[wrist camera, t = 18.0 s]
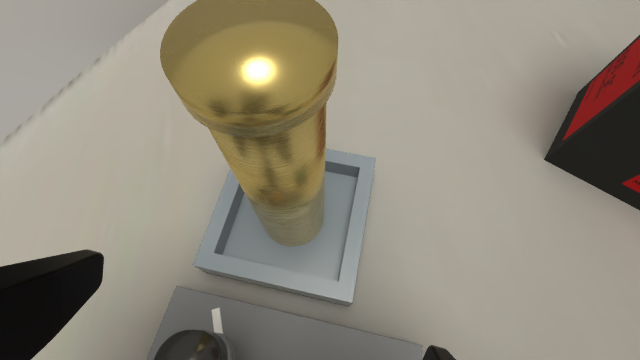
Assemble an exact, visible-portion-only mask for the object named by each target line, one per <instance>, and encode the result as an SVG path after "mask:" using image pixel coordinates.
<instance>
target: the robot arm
mask: <svg viewBox="0 0 640 360" xmlns="http://www.w3.org/2000/svg"><path fill="white" fill-rule="evenodd" d="M103 264H104V257H103V255H102V254H101V253H99V252H95V251H92V250H81V251H76V252H71V253H66V254H61V255H56V256H51V257H46V258H41V259H36V260H31V261H26V262H22V263H17V264H12V265H7V266H2V267H0V360H31V359H32V358H33V357H34V356H35V355H36V354H37V353H38V352H39V351H41V350H42V349H43V348H44V347H45V346H46V345H47V344H48V343H49V342H50V341H51V340H52V339H53V338H54V337H55V336H56V335H57V334H58V333H59V332H60V330H61V329H62V328H63V327H64V326H65V325H66V324H67V323H68V322H69V321H70V319H71V318H72V317H73V316H74V315H75V314H76V313H77V312H78V310H79V309H80V308H81V307H82V306H83V305H84V304H85V303H86V302H87V300H88V299H89V298H90V297H91V296H92V295H93V294H94V293H95V292H96V290H97V289H98V288H99V286H100V285H101V282H102V278H103ZM423 360H456V359H455V358H454V357H453V356H452V355H451V354H450V353H449V352H448V351H447V350H446V349H444V348H441V347H437V346H434V345H431V346H429V347H428V348H427V350H426V353H425V355H424V358H423Z"/></svg>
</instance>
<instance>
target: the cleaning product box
mask: <svg viewBox="0 0 640 360" xmlns="http://www.w3.org/2000/svg"><path fill="white" fill-rule="evenodd" d="M544 160H546V161H548V162H549V163H551V164H553V165H555V166H557V167H559V168H561V169H563V170H565V171H566V172H568V173H570V174H572V175H574V176H576V177H578V178H580V179H582V180H584V181H585V182H587V183H589V184H591V185H593V186H595V187H597V188H599V189H601V190H602V191H604V192H606V193H608V194H610V195H612V196H614V197H616V198H618V199H620V200H621V201H623V202H625V203H627V204H629V205H631V206H633V207H635V208H637V209H638V210H640V35H639V36H638V37H637V38H636V39H635V40H634V41H633V42H632V43H631V44H630V45H629V46H627V47H626V48H625V49H624V50H623V51H622V52H621V53H620V54H619V55H618V56H617V57H616V58H615V59H614V60H612V61H611V62H610V63H609V64H608V65H607V66H606V67H605V68H604V69H603V70H602V71H601V72H600V73H599V74H597V75H596V76H595V77H594V78H593V79H592V80H591V81H590V82H589V83H588V84H587V85H586V86H585V87H584V88H582V89H581V90H580V91H579V92H578V94H577V96H576V98H575V100H574V102H573V104H572V106H571V108H570V110H569V112H568V114H567V116H566V118H565V120H564V122H563V124H562V126H561V128H560V130H559V132H558V134H557V136H556V138H555V140H554V142H553V144H552V146H551V148H550V150H549V151H548V153H547V155H546V157H545V159H544Z"/></svg>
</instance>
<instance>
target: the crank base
mask: <svg viewBox="0 0 640 360" xmlns="http://www.w3.org/2000/svg"><path fill="white" fill-rule="evenodd" d="M183 330H209V331H212V332H218V333H221V334H224V335H225V336H227V337H228V338H229V339H230V341H231V342H232V344H233V347H234V350H235V360H421V359H422V345H418V344H414V343H409V342H405V341H401V340H397V339H393V338H389V337H385V336H381V335H376V334H372V333H368V332H364V331H360V330H356V329H352V328H347V327H343V326H339V325H335V324H331V323H327V322H323V321H319V320H314V319H310V318H306V317H302V316H298V315H294V314H290V313H286V312H281V311H277V310H273V309H269V308H265V307H261V306H257V305H253V304H248V303H244V302H240V301H236V300H232V299H228V298H224V297H220V296H215V295H211V294H207V293H203V292H199V291H195V290H191V289H186V288H182V287H178V286H176V288H175V291H174V293H173V296H172V298H171V301H170V303H169V305H168V308H167V310H166V313H165V315H164V318H163V320H162V323H161V325H160V328H159V330H158V333H157V335H156V338H155V340H154V343H153V345H152V348H151V350H150V353H149V355H148V358H147V360H154V358H155V355H156V353H157V351H158V350H159V348H160V347H161V345H162V344H163V343H164V342H165V341H166V340H167V339H168V338H169V337H171V336H172V335H174V334H175V333H177V332H180V331H183Z"/></svg>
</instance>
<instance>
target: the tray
mask: <svg viewBox="0 0 640 360" xmlns="http://www.w3.org/2000/svg"><path fill="white" fill-rule="evenodd" d="M375 161H376V158H373V157H367V156H362V155H357V154H351V153H346V152H340V151H335V150H330V149H325V201H324V222H323V226H322V228H321V230H320V232H319V233H318V235H317V236H316V237H315V238H314V239H313V240H311V241H310V242H308V243H306V244H303V245H300V246H284V245H281V244H279V243H277V242H275V241H274V240H273V239H272V238H270V236H269V235H268V234H267V232H266V231H265V229H264V227H263V225H262V223H261V222H260V220H259V218H258V216H257V214H256V213H255V211H254V209H253V207H252V205H251V204H250V202H249V200H248V198H247V196H246V195H245V193H244V191H243V189H242V188H241V186H240V184H239V182H238V180H237V179H236V177H235V175H234V173H233V171H232V170H231V168H230V171H229V174H228V176H227V179H226V181H225V184H224V186H223V189H222V191H221V194H220V196H219V199H218V202H217V204H216V207H215V209H214V212H213V214H212V217H211V219H210V222H209V225H208V227H207V230H206V232H205V235H204V237H203V240H202V242H201V245H200V247H199V250H198V253H197V255H196V258H195V260H194V263H193V266H195V267H197V268H198V269H200V270H202V271H204V272H206V273H210V274H214V275H219V276H223V277H227V278H231V279H236V280H240V281H244V282H248V283H253V284H257V285H261V286H265V287H270V288H274V289H278V290H282V291H287V292H291V293H295V294H299V295H304V296H308V297H312V298H316V299H321V300H325V301H329V302H333V303H338V304H342V305H346V306H349V305H350V304H351V303H352V301H353V295H354V289H355V283H356V276H357V270H358V264H359V258H360V252H361V246H362V240H363V234H364V228H365V222H366V216H367V209H368V203H369V197H370V191H371V185H372V179H373V173H374V167H375Z"/></svg>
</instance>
